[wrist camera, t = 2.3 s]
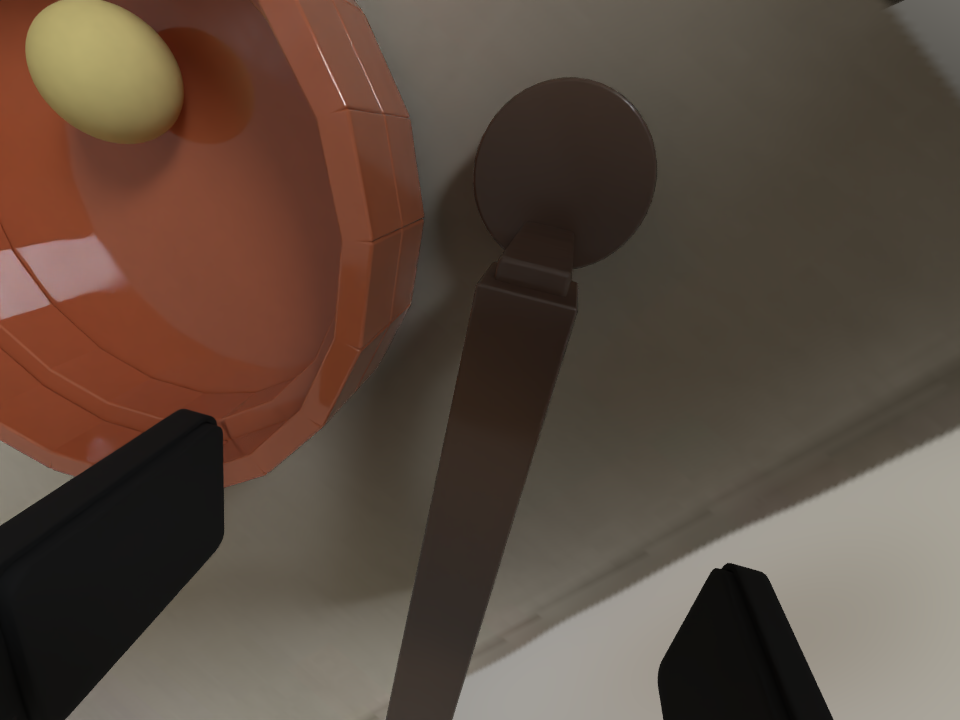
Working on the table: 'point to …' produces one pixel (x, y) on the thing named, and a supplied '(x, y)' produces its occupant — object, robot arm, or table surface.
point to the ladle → (515, 351)
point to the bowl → (206, 238)
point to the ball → (104, 71)
